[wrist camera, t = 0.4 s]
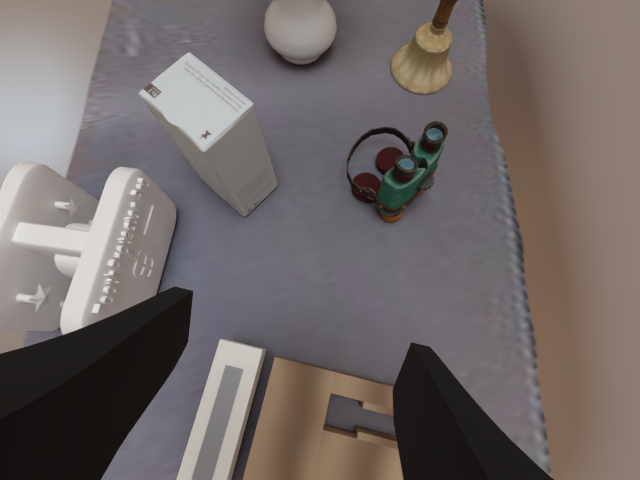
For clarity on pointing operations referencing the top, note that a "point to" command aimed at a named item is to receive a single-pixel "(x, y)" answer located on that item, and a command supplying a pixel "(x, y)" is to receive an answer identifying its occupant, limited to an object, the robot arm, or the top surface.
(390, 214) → the binoculars
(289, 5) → the flower vase
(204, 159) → the skincare box
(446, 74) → the hand bell
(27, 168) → the white rounded box
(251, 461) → the keyhole board
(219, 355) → the white rectangular block
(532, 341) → the top surface
